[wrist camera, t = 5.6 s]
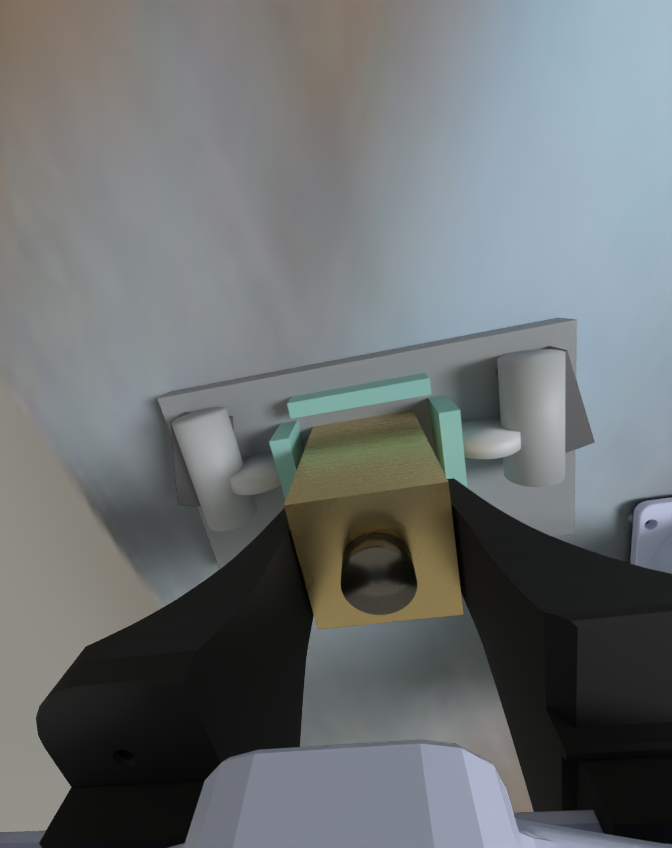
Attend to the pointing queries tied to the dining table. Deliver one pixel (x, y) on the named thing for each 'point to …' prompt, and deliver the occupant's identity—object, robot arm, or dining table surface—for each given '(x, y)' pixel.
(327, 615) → the coupling block
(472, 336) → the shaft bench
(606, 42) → the dining table surface
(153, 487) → the dining table surface
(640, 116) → the dining table surface
